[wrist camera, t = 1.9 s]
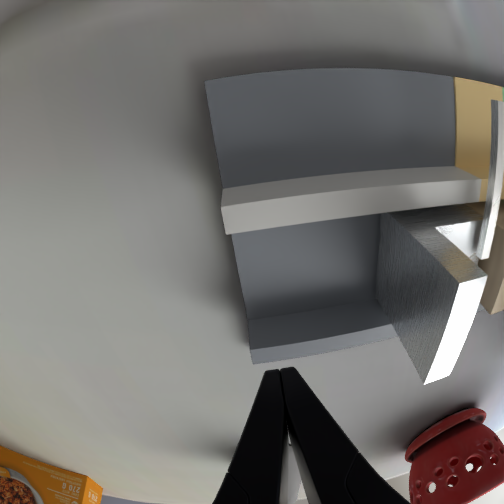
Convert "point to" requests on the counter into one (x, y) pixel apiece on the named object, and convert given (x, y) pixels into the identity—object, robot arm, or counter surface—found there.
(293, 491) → the flask
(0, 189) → the counter surface
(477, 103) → the bench
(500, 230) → the block
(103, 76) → the counter surface
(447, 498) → the plant pot
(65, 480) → the cereal box
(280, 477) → the robot arm
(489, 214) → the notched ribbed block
